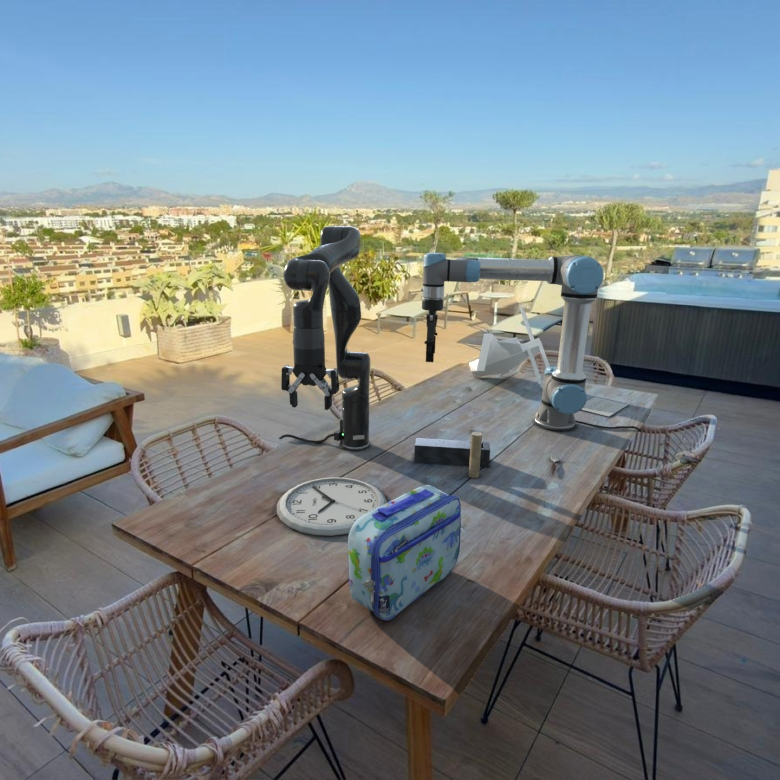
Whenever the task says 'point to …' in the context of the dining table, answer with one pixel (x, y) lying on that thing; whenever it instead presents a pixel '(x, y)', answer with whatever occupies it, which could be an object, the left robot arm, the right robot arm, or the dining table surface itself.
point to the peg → (475, 454)
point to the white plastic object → (507, 354)
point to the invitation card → (603, 406)
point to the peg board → (448, 452)
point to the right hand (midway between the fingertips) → (430, 357)
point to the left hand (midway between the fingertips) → (310, 407)
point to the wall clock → (328, 505)
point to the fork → (554, 461)
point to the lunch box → (403, 549)
